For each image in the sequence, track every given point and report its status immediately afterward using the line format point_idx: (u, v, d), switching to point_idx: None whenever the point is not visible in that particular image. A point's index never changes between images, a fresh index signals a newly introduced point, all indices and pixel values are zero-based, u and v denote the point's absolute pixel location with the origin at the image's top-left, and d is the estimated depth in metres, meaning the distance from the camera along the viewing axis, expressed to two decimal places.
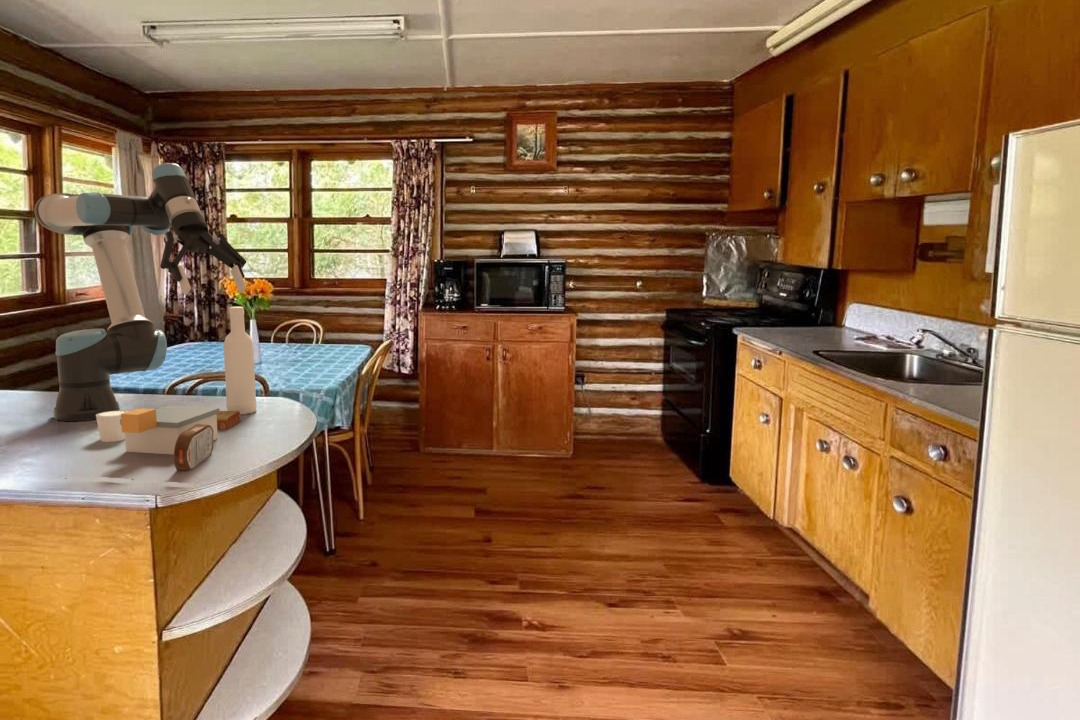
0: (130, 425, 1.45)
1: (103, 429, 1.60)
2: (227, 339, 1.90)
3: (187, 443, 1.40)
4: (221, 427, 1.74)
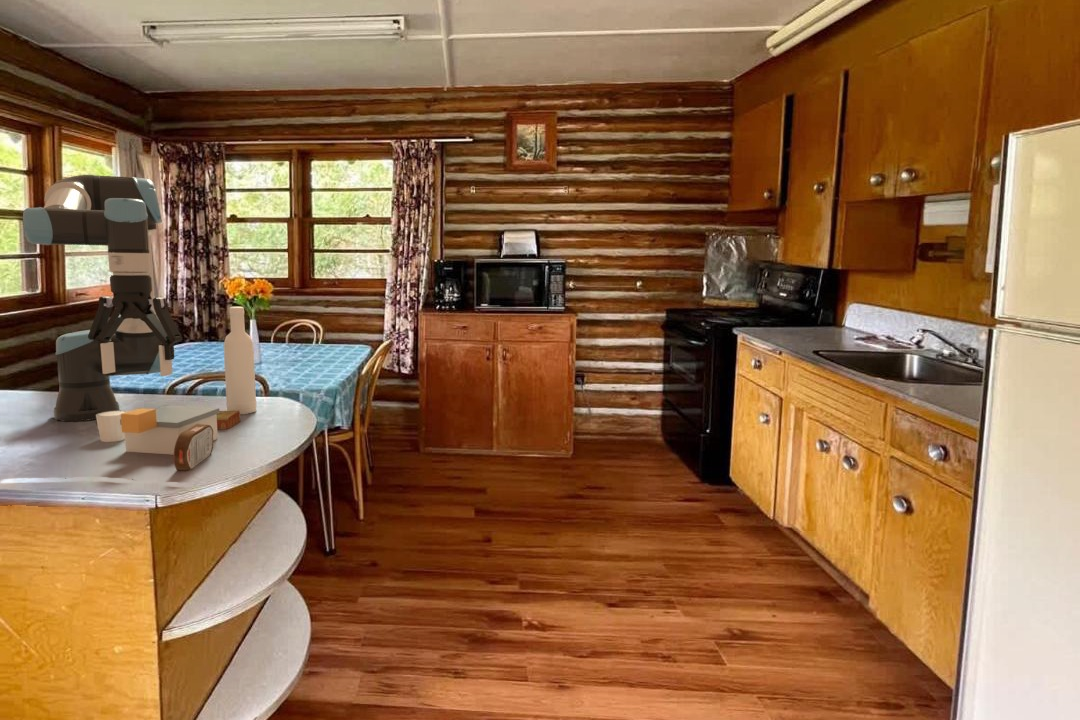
0: (130, 425, 1.45)
1: (103, 429, 1.60)
2: (227, 339, 1.90)
3: (187, 443, 1.40)
4: (221, 427, 1.74)
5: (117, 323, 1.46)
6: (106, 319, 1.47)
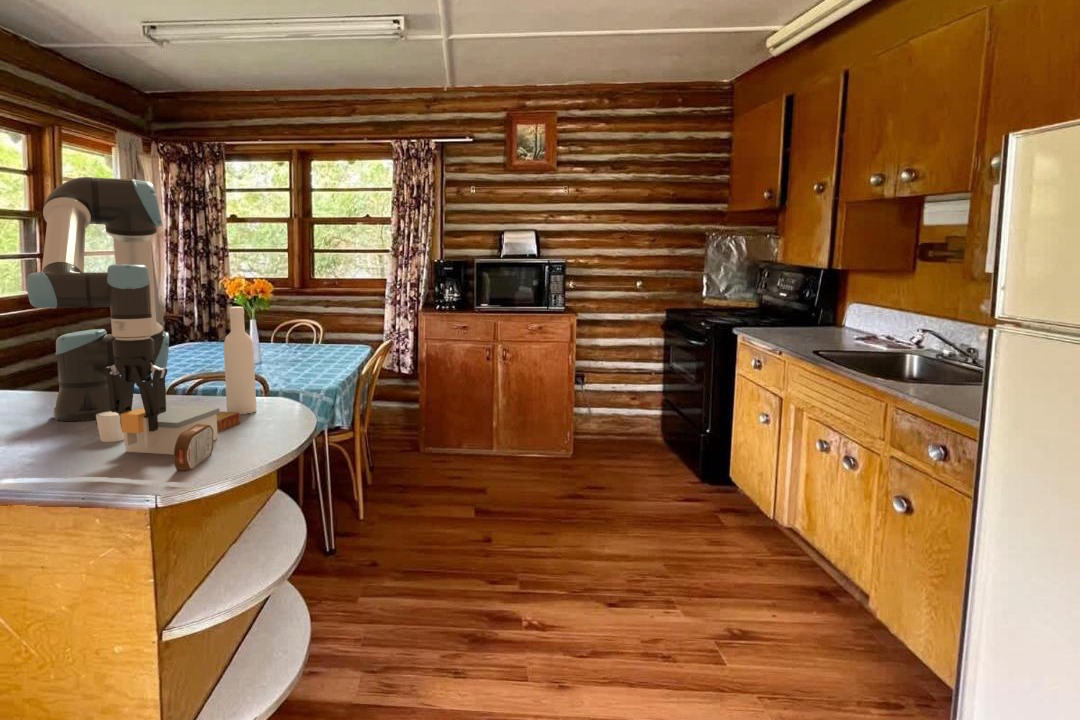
0: (130, 425, 1.45)
1: (103, 429, 1.60)
2: (227, 339, 1.90)
3: (187, 443, 1.40)
4: None
5: (130, 389, 1.47)
6: (119, 388, 1.48)
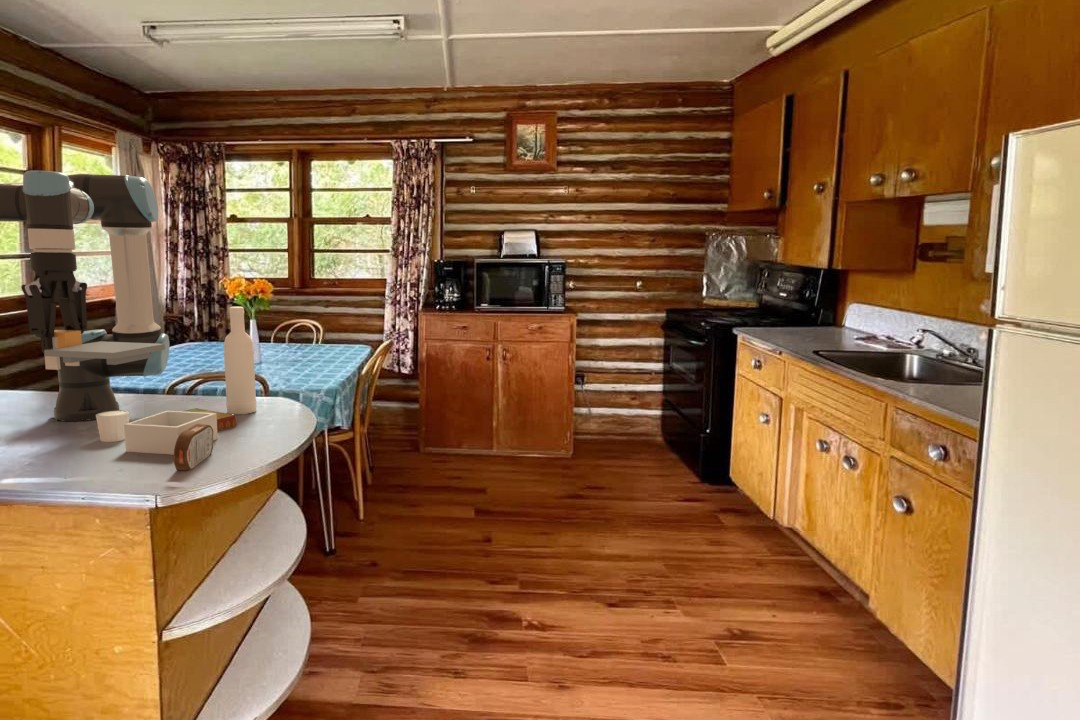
0: None
1: (103, 429, 1.60)
2: (227, 339, 1.90)
3: (187, 443, 1.40)
4: None
5: (64, 307, 1.40)
6: (79, 306, 1.42)
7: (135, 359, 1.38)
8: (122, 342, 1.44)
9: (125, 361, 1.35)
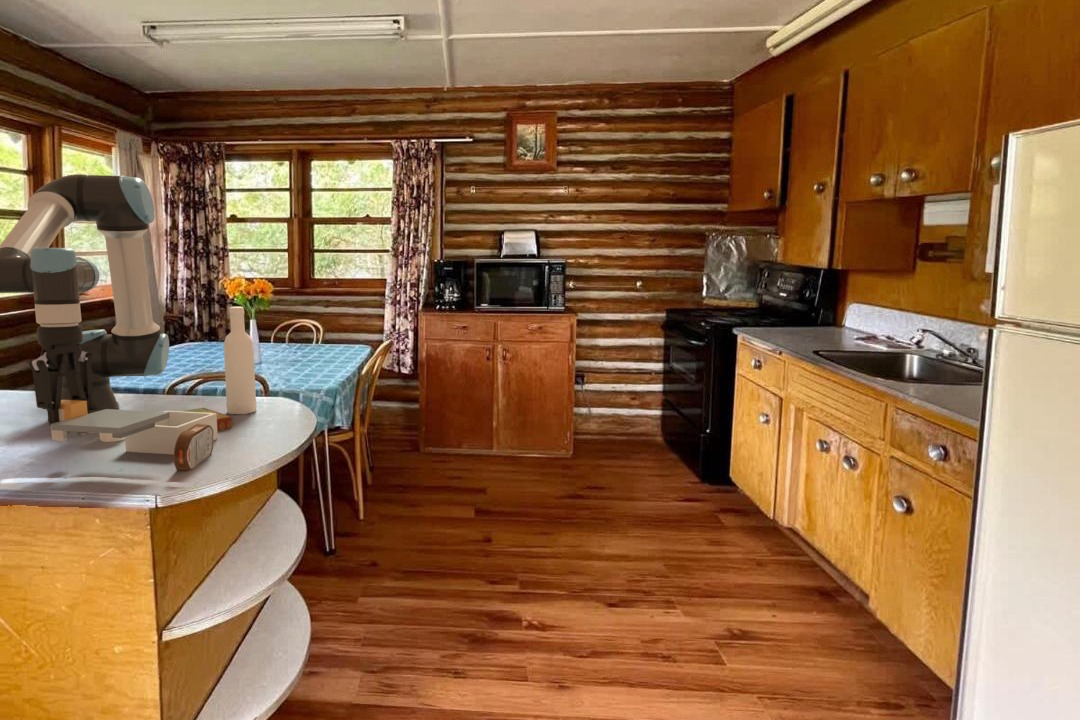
0: None
1: None
2: (227, 339, 1.90)
3: (187, 443, 1.40)
4: None
5: (70, 378, 1.42)
6: (85, 375, 1.45)
7: (140, 430, 1.40)
8: (127, 410, 1.47)
9: (130, 433, 1.37)
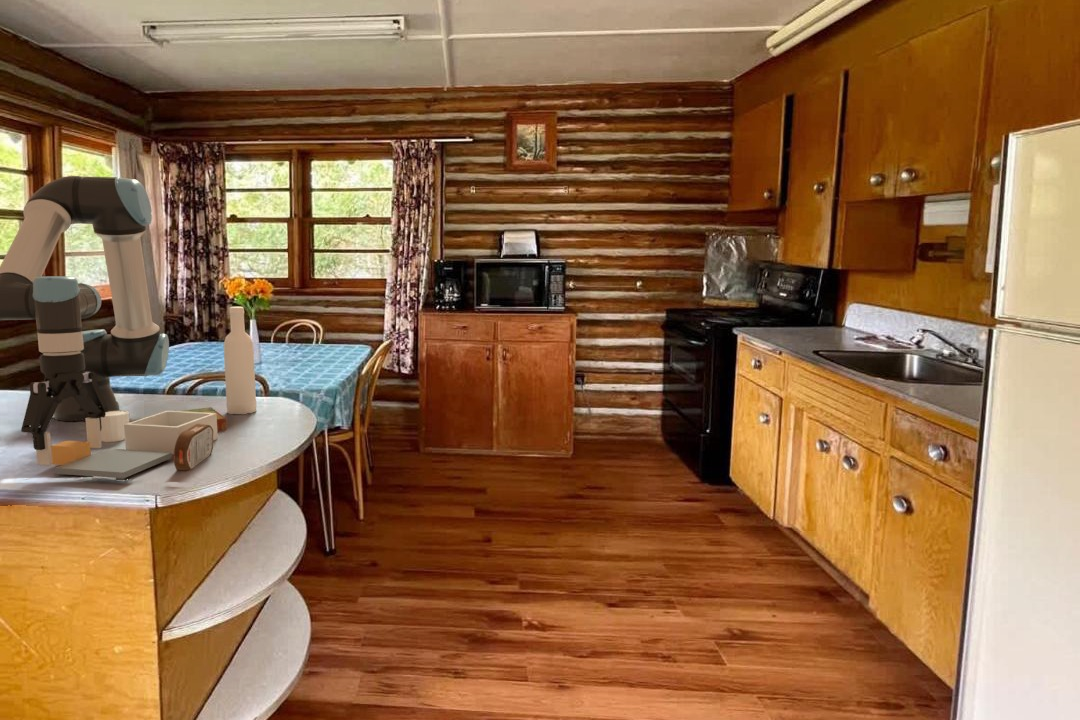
0: None
1: (103, 429, 1.60)
2: (227, 339, 1.90)
3: (187, 443, 1.40)
4: None
5: (80, 400, 1.45)
6: (95, 394, 1.48)
7: None
8: (130, 450, 1.48)
9: None
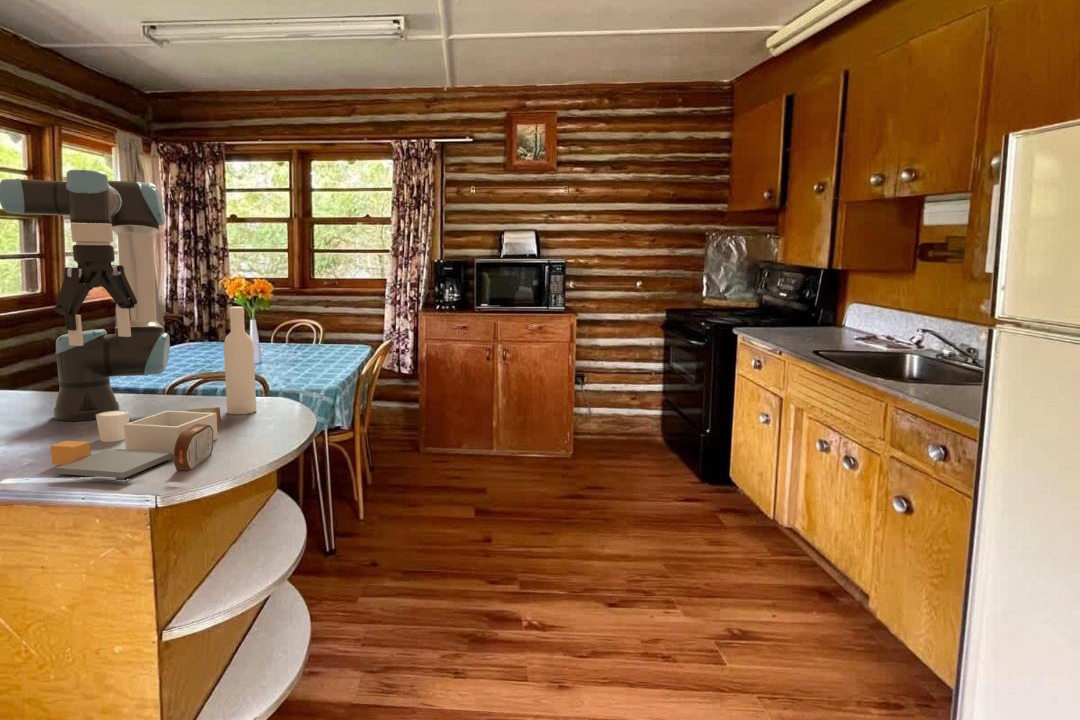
0: None
1: (103, 429, 1.60)
2: (227, 339, 1.90)
3: (187, 443, 1.40)
4: None
5: (111, 290, 1.54)
6: (124, 286, 1.57)
7: None
8: (130, 450, 1.48)
9: None
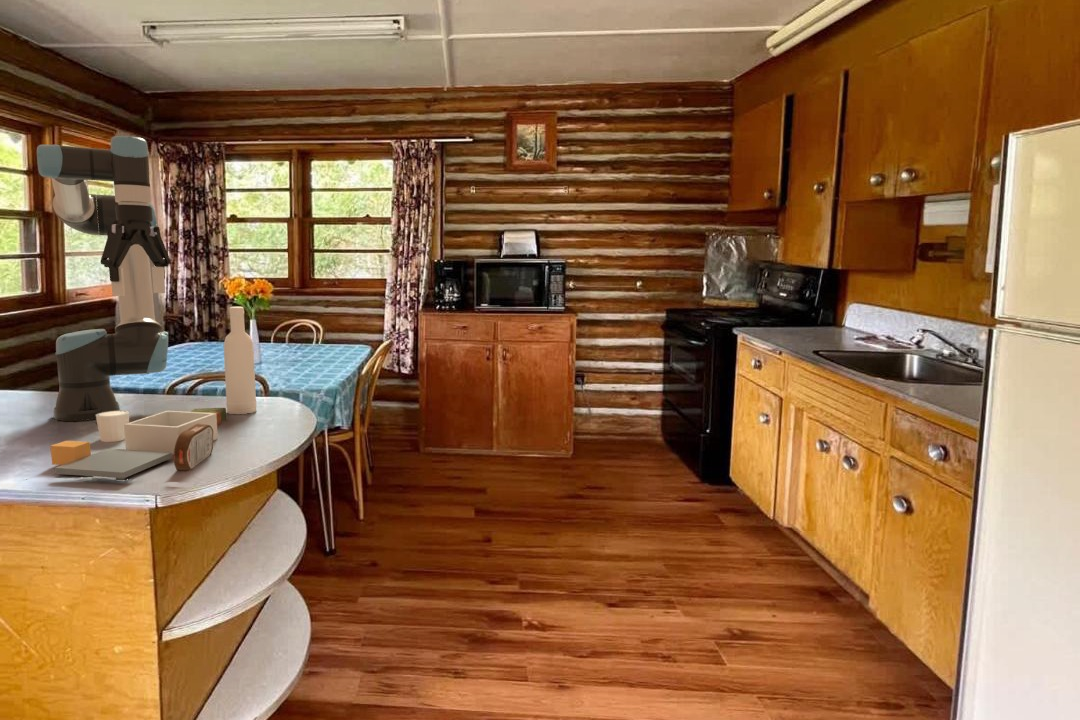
0: None
1: (103, 429, 1.60)
2: (227, 339, 1.90)
3: (187, 443, 1.40)
4: None
5: (148, 249, 1.68)
6: (159, 246, 1.71)
7: None
8: (130, 450, 1.48)
9: None
